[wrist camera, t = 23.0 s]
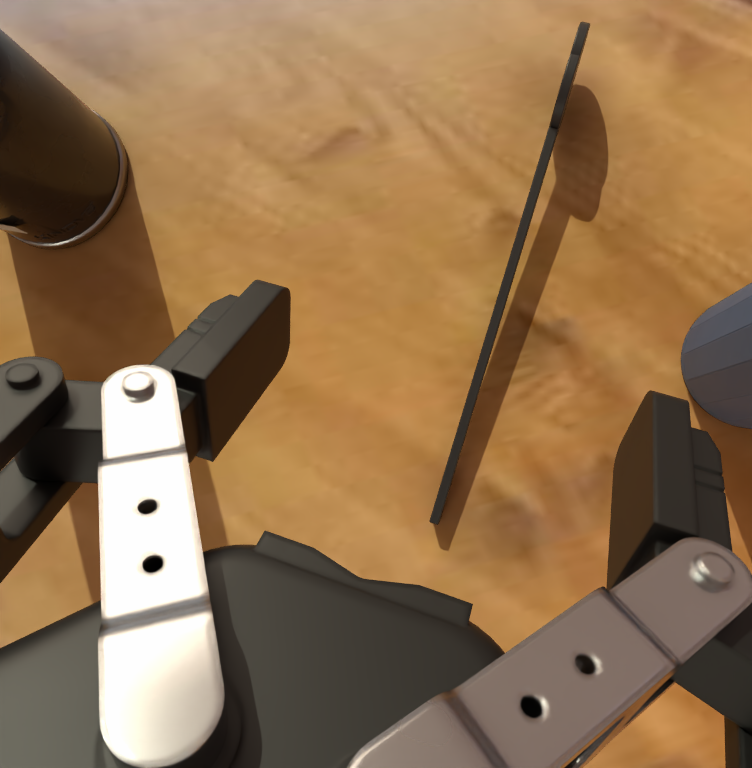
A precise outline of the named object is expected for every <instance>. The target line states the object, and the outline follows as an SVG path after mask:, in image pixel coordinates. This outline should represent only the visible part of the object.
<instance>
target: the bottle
mask: <svg viewBox="0 0 752 768" xmlns="http://www.w3.org/2000/svg"><path fill="white" fill-rule="evenodd" d="M681 368H682V373H683V378H684V381H685V383H686V386H687V388H688V390H689V392H690V394H691V395H692V396H693V398H694V399H695V401H696V402H697V403H698V404H699V405H700V406H701V407H702V408H703V409H704V410H705V411H707V412H708V413H709V414H710V415H712V416H714V417H715V418H717V419H719V420H721V421H723V422H725V423H728V424H730V425H733V426H738V427H742V428H749V429H752V283H750V284H749V285H747V286H745V287H744V288H742V289H740V290H739V291H737V292H735V293H734V294H732V295H730V296H729V297H727V298H725V299H724V300H722V301H720V302H719V303H717V304H715V305H714V306H712V307H710V308H709V309H707V310H706V311H705V312H704V313H703V314H702V315H701V316H700V317H699V318H698V319H697V320H696V321H695V322H694V324H693V325H692V327H691V328H690V330H689V331H688V333H687V335H686V338H685V340H684V343H683V347H682V352H681Z"/></svg>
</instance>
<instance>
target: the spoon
mask: <svg viewBox="0 0 752 768" xmlns="http://www.w3.org/2000/svg"><path fill="white" fill-rule="evenodd" d="M589 27H590V23H586V22H581V23H580V25H579V28H578V31H577V34H576V37H575V40H574V44H573V47H572V50H571V54H570V57H569V60H568V63H567V66H566V69H565V73H564V76H563V79H562V83H561V86H560V90H559V93H558V97H557V100H556V104H555V107H554V111H553V115H552V118H551V122H550V126H549V129H548V132H547V136H546V139H545V142H544V146H543V149H542V152H541V155H540V159H539V162H538V165H537V169H536V172H535V175H534V179H533V182H532V185H531V188H530V192H529V195H528V198H527V202H526V205H525V208H524V212H523V215H522V218H521V221H520V225H519V228H518V231H517V235H516V238H515V241H514V244H513V248H512V251H511V254H510V258H509V261H508V264H507V268H506V271H505V274H504V277H503V281H502V284H501V287H500V291H499V294H498V297H497V300H496V304H495V307H494V310H493V314H492V317H491V320H490V324H489V327H488V330H487V333H486V337H485V340H484V343H483V347H482V350H481V353H480V356H479V360H478V363H477V366H476V370H475V373H474V376H473V380H472V383H471V386H470V389H469V393H468V396H467V399H466V403H465V406H464V409H463V413H462V416H461V419H460V422H459V426H458V429H457V432H456V436H455V439H454V442H453V445H452V449H451V452H450V455H449V459H448V462H447V465H446V469H445V472H444V475H443V478H442V482H441V485H440V488H439V492H438V495H437V498H436V501H435V505H434V508H433V511H432V515H431V518H430V522H431V523H434V524H437V525H438V524H439V522H440V519H441V515H442V512H443V509H444V506H445V502H446V499H447V496H448V492H449V489H450V486H451V483H452V479H453V476H454V473H455V469H456V466H457V463H458V459H459V456H460V453H461V450H462V446H463V443H464V440H465V436H466V433H467V430H468V427H469V423H470V420H471V417H472V413H473V410H474V407H475V404H476V400H477V397H478V394H479V390H480V387H481V384H482V380H483V377H484V374H485V371H486V367H487V364H488V361H489V357H490V354H491V351H492V348H493V344H494V341H495V338H496V334H497V331H498V328H499V324H500V321H501V318H502V315H503V311H504V308H505V305H506V301H507V298H508V295H509V292H510V288H511V285H512V282H513V278H514V275H515V272H516V269H517V265H518V262H519V259H520V255H521V252H522V249H523V245H524V242H525V239H526V236H527V232H528V229H529V226H530V222H531V219H532V216H533V213H534V209H535V206H536V203H537V199H538V196H539V193H540V190H541V186H542V183H543V180H544V176H545V173H546V170H547V166H548V163H549V160H550V157H551V153H552V150H553V147H554V143H555V140H556V136H557V134H558V131H559V128H560V125H561V122H562V119H563V116H564V112H565V109H566V106H567V102H568V99H569V96H570V92H571V89H572V86H573V82H574V79H575V76H576V72H577V69H578V66H579V62H580V59H581V55H582V52H583V49H584V45H585V42H586V38H587V34H588V31H589Z"/></svg>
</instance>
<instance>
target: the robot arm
mask: <svg viewBox="0 0 752 768" xmlns="http://www.w3.org/2000/svg"><path fill="white" fill-rule="evenodd" d="M127 176H128V164H127V156H126V152H125V149H124V146H123V143H122V141H121V139H120V137H119V135H118V134H117V132H116V131H115V129H114V128H113V127H112V126H111V125H110V124H109V123H108V122H107V121H106V120H105V119H103V118H102V117H101V116H100V115H99V114H97V113H96V112H95V111H93V110H91V109H90V108H89V107H88V106H86V105H85V104H84V103H83V102H82V101H81V100H80V99H79V98H77V97H76V96H75V95H74V94H73V93H72V92H71V91H70V90H69V89H68V88H66V87H65V86H64V85H63V84H62V83H61V82H60V81H59V80H57V79H56V78H55V77H54V76H53V75H52V74H51V73H49V72H48V71H47V70H46V69H45V68H44V67H43V66H42V65H40V64H39V63H38V62H37V61H36V60H35V59H34V58H33V57H31V56H30V55H29V54H28V53H27V52H26V51H25V50H24V49H22V48H21V47H20V46H19V45H18V44H17V43H16V42H15V41H13V40H12V39H11V38H10V37H9V36H8V35H7V34H5V33H4V32H3V31H2V30H1V29H0V229H1V230H3V231H5V232H7V233H9V234H10V235H12V236H13V237H15V238H16V239H18V240H21V241H23V242H25V243H27V244H29V245H32V246H35V247H39V248H44V249H62V248H67V247H71V246H74V245H77V244H79V243H82V242H83V241H85V240H87V239H89V238H90V237H92V236H93V235H95V234H96V233H97V232H99V231H100V230H101V229H102V228H103V227H104V226H105V225H106V224H107V223H108V222H109V220H110V219H111V218H112V216H113V215H114V213H115V212H116V210H117V209H118V207H119V205H120V203H121V200H122V198H123V195H124V192H125V188H126V184H127ZM290 300H291V297H290V291H289V289H288V288H286V287H282V286H279V285H275V284H271V283H268V282H264V281H261V280H255V281H254V282H253V283H252V284H251V285H250V286H249V287H248V288H247V289H246V290H245V291H244V292H243V293H242V294H241V295H240V296H239V297H237V296H234V295H228V296H226V297H224V298H222V299H220V300H217V301H215V302H213V303H211V304H210V305H209V306H208V307H207V308H206V309H205V310H204V311H203V312H202V313H201V314H200V315H199V316H198V319H195V320H194V321H193V322H192V323H191V324H190V325H189V326H188V328H187V330H184V331H183V332H182V333H181V334H180V335H179V336H178V337H177V338H176V339H175V340H174V341H173V342H172V343H171V344H170V345H169V346H168V347H167V348H166V349H165V350H164V351H163V352H162V353H161V354H160V355H159V356H158V357H157V358H156V359H155V360H154V361H153V362H152V363H151V364H150V365H134V366H129V367H126V368H123V369H121V370H118V371H117V372H115V373H113V374H112V375H110V376H109V377H108V378H107V379H106V380H105V382H91V381H74V380H65V378H64V375H63V372H62V369H61V367H60V366H59V365H58V364H57V363H56V362H54V361H53V360H50V359H47V358H43V357H24V358H18V359H14V360H11V361H8V362H6V363H4V364H2V365H0V471H1V470H2V471H1V472H0V583H1V582H2V581H3V579H4V578H5V577H6V576H7V575H8V573H9V572H10V571H11V570H12V568H13V567H14V566H15V565H16V564H17V562H18V561H19V560H20V559H21V557H22V556H23V555H24V554H25V553H26V551H27V550H28V549H29V548H30V546H31V545H32V544H33V543H34V542H35V540H36V539H37V538H38V537H39V535H40V534H41V533H42V532H43V531H44V529H45V528H46V527H47V526H48V524H49V523H50V522H51V521H52V520H53V518H54V517H55V516H56V515H57V513H58V512H59V511H60V510H61V509H62V507H63V506H64V505H65V504H66V502H67V501H68V500H69V499H70V498H71V496H72V495H73V494H74V493H75V491H76V490H77V489H78V488H79V487H80V485H81V484H82V483H83V482H85V483H98V492H99V534H100V576H101V600H100V601H98V602H96V603H94V604H92V605H90V606H88V607H86V608H84V609H82V610H79V611H77V612H75V613H73V614H71V615H69V616H67V617H65V618H63V619H61V620H59V621H56V622H54V623H52V624H50V625H48V626H46V627H44V628H42V629H40V630H38V631H36V632H34V633H31V634H29V635H27V636H25V637H23V638H21V639H19V640H17V641H15V642H13V643H11V644H8V645H6V646H4V647H2V648H0V768H583V767H584V766H585V765H586V764H587V763H589V762H590V761H591V760H592V759H593V758H594V757H595V756H596V755H597V754H598V753H599V752H600V751H601V750H602V749H603V748H604V747H605V746H606V745H607V744H608V743H609V742H610V741H611V740H612V739H613V738H614V737H616V736H617V735H618V734H619V733H620V732H621V731H622V730H623V729H624V728H625V727H627V726H628V725H629V724H630V723H631V722H632V721H633V720H634V719H636V718H637V717H638V716H639V715H640V714H641V713H642V712H643V711H644V710H646V709H647V708H648V707H649V706H650V705H651V704H652V703H653V702H655V701H656V700H657V699H658V698H659V697H660V696H661V695H662V694H663V693H665V692H666V691H667V690H668V689H669V688H670V687H671V686H672V685H674V684H675V683H677V684H679V685H680V686H682V687H683V688H684V689H686V690H687V691H689V692H690V693H692V694H693V695H695V696H696V697H698V698H699V699H701V700H702V701H703V702H705V703H706V704H708V705H709V706H711V707H712V708H714V709H715V710H717V711H718V712H720V713H721V714H722V715H724V720H725V760H726V768H752V575H751V573H750V571H749V570H748V568H747V567H746V565H745V564H744V563H743V562H742V561H741V559H740V558H738V557H737V556H736V555H735V554H734V553H733V552H732V545H731V537H730V529H729V520H728V512H727V504H726V496H725V493H724V489H725V487H724V479H723V477H722V473H723V471H722V463H721V454H720V451H719V450H718V448H717V447H716V445H715V443H714V442H713V440H712V439H711V437H710V435H709V434H708V432H706V431H702V430H699V429H695V428H692V427H691V422H690V408H689V402H688V401H687V400H683V399H680V398H676V397H672V396H669V395H665V394H662V393H658V392H655V391H649V392H648V393H647V394H646V395H645V397H644V399H643V401H642V403H641V405H640V407H639V409H638V410H637V412H636V414H635V416H634V418H633V420H632V422H631V424H630V426H629V428H628V430H627V432H626V434H625V435H624V437H623V439H622V441H621V444H620V446H619V449H618V452H617V455H616V459H615V463H614V470H613V487H612V504H611V521H610V538H609V555H608V573H607V589H606V588H605V587H600V588H598V589H596V590H594V591H593V592H591V593H590V594H589V595H587V596H586V597H584V598H583V599H581V600H580V601H579V602H577V603H576V604H574V605H573V606H572V607H570V608H569V609H567V610H566V611H564V612H563V613H562V614H560V615H559V616H557V617H556V618H555V619H553V620H552V621H550V622H549V623H547V624H546V625H545V626H543V627H542V628H540V629H539V630H538V631H536V632H535V633H533V634H532V635H530V636H529V637H528V638H526V639H525V640H523V641H522V642H521V643H519V644H518V645H516V646H515V647H513V648H512V649H511V650H509V651H508V652H506V653H504V651H503V650H502V649H501V648H500V646H499V645H498V644H497V643H496V642H495V641H494V640H493V639H492V638H491V637H490V636H489V635H487V634H486V633H485V632H484V631H482V630H481V629H480V628H479V627H478V626H476V625H475V624H473V623H472V622H470V621H469V618H470V614H471V609H472V605H473V604H471V603H468V602H465V601H463V600H460V599H457V598H454V597H451V596H449V595H446V594H443V593H440V592H437V591H434V590H432V589H429V588H426V587H423V586H420V585H413V584H404V583H395V582H386V581H377V580H368V579H363V578H360V577H358V576H356V575H354V574H353V573H351V572H350V571H348V570H347V569H345V568H344V567H342V566H341V565H339V564H338V563H336V562H335V561H333V560H331V559H330V558H328V557H327V556H325V555H324V554H322V553H321V552H319V551H318V550H316V549H315V548H313V547H310V546H307V545H304V544H301V543H299V542H296V541H293V540H290V539H287V538H284V537H282V536H279V535H276V534H273V533H270V532H268V531H264V533H263V535H262V537H261V538H260V540H259V542H258V543H257V545H232V546H224V547H219V548H215V549H211V550H208V551H205V552H202V546H201V539H200V533H199V527H198V520H197V514H196V508H195V501H194V495H193V489H192V482H191V476H190V470H189V464H190V462H191V461H192V460H193V459H194V457H195V456H197V457H200V458H203V459H206V460H209V461H212V462H213V461H214V460H215V458H216V457H217V456H218V454H219V453H220V451H221V450H222V449H223V447H224V446H225V445H226V443H227V442H228V441H229V439H230V438H231V436H232V435H233V434H234V432H235V431H236V430H237V428H238V427H239V425H240V424H241V423H242V421H243V420H244V419H245V417H246V416H247V414H248V413H249V412H250V410H251V409H252V408H253V406H254V405H255V403H256V402H257V401H258V399H259V398H260V397H261V395H262V394H263V392H264V391H265V390H266V388H267V387H268V386H269V384H270V383H271V381H272V380H273V379H274V377H275V376H276V375H277V373H278V372H279V370H280V369H281V368H282V366H283V364H284V362H285V360H286V357H287V354H288V350H289V344H290ZM13 457H14V458H13ZM12 458H13V459H12ZM11 459H12V460H11ZM10 460H11V461H10ZM9 461H10V462H9ZM8 462H9V463H8ZM7 463H8V464H7ZM6 464H7V465H6ZM5 465H6V466H5Z"/></svg>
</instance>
